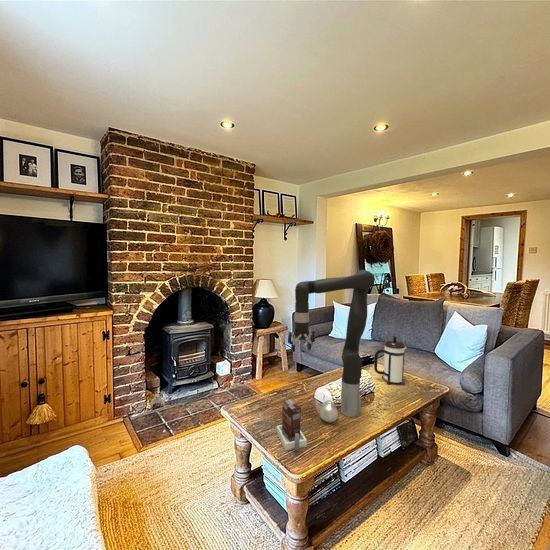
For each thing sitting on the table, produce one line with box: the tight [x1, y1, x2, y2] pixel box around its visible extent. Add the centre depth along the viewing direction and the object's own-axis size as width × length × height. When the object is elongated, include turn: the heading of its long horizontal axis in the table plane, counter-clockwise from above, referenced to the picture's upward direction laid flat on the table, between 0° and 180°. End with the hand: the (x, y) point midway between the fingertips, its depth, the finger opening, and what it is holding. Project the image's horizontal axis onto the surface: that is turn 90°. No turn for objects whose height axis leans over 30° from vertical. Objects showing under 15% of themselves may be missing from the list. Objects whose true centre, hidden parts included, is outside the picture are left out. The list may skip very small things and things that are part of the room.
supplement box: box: [281, 398, 302, 442], centre depth 135 cm, size 9×5×16 cm, turn 29°
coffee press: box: [373, 335, 407, 386], centre depth 195 cm, size 17×16×30 cm
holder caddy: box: [276, 424, 308, 452], centre depth 136 cm, size 10×17×7 cm, turn 16°
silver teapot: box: [319, 399, 339, 423], centre depth 150 cm, size 9×10×10 cm
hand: (301, 350), depth 159 cm, fingers open, 8 cm apart
